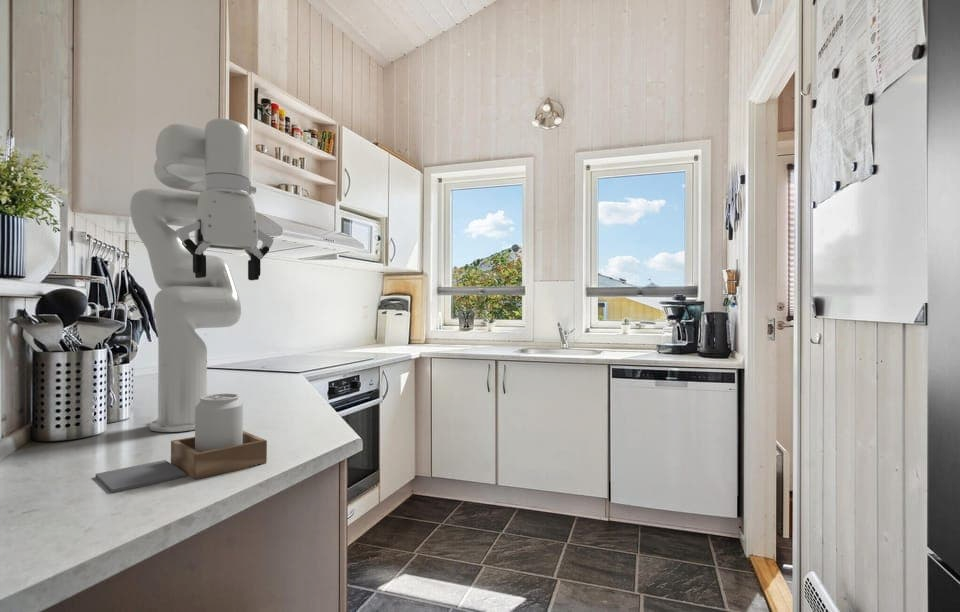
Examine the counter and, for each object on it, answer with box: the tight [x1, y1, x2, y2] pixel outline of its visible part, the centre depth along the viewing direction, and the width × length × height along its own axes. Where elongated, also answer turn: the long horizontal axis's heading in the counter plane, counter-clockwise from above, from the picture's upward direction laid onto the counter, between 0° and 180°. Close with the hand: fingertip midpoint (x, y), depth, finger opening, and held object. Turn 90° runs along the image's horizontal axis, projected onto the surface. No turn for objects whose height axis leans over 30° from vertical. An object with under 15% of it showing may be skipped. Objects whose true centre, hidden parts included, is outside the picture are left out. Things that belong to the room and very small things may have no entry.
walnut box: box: [170, 430, 268, 480], centre depth 90 cm, size 12×12×4 cm
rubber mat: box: [95, 459, 187, 494], centre depth 82 cm, size 10×10×1 cm
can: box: [194, 393, 244, 453], centre depth 89 cm, size 8×8×12 cm
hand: (228, 278), depth 96 cm, fingers open, 9 cm apart
